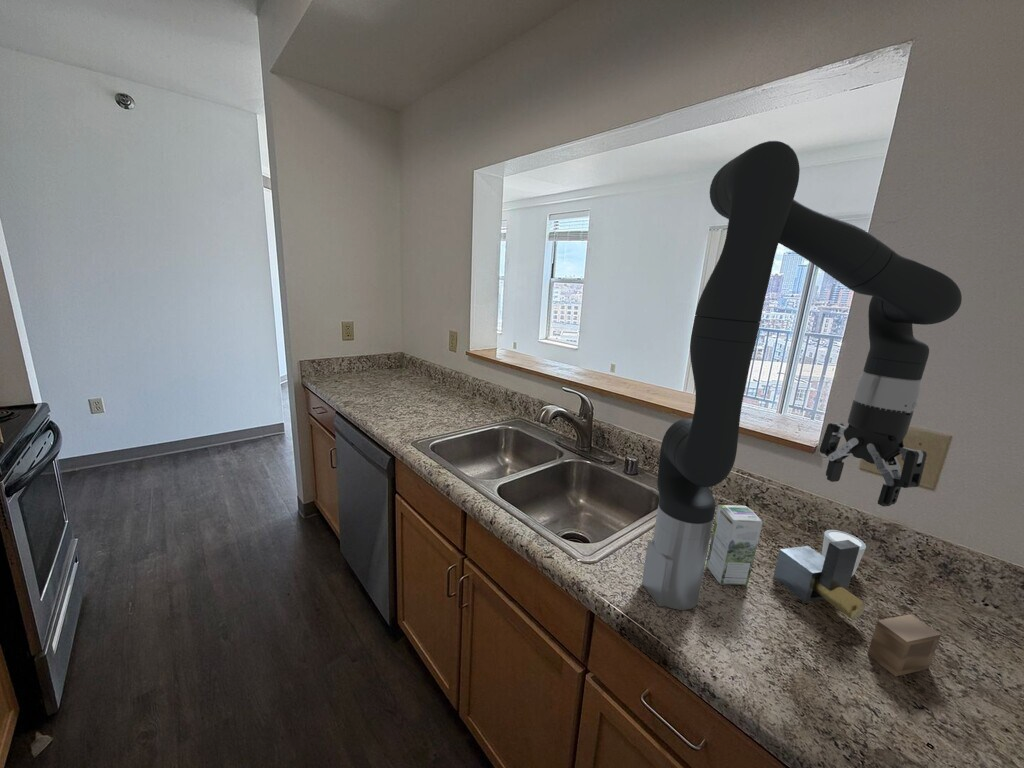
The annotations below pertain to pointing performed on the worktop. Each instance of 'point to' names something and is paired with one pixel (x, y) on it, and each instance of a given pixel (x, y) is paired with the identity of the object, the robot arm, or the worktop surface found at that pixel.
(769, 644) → the worktop surface
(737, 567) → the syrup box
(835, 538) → the shot glass
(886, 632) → the socket block
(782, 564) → the block
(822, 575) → the slide bolt
